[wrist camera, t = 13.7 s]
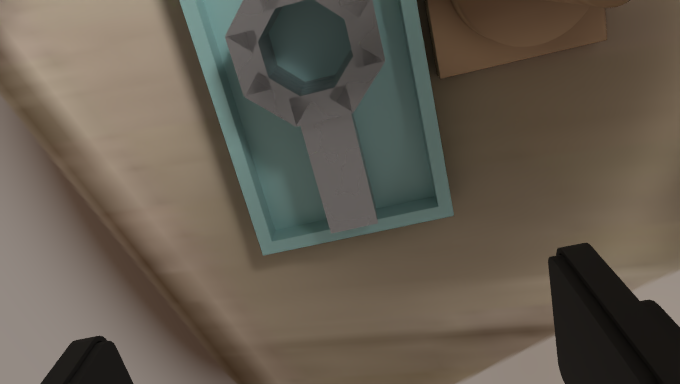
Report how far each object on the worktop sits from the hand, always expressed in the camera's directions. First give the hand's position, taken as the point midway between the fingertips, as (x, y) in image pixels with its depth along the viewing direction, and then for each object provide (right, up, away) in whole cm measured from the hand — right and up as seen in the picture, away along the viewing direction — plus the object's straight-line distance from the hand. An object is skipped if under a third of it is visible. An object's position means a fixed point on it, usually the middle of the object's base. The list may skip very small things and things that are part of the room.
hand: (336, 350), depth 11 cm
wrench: (-1, +8, +16) cm, 18 cm away
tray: (-1, +10, +16) cm, 19 cm away
